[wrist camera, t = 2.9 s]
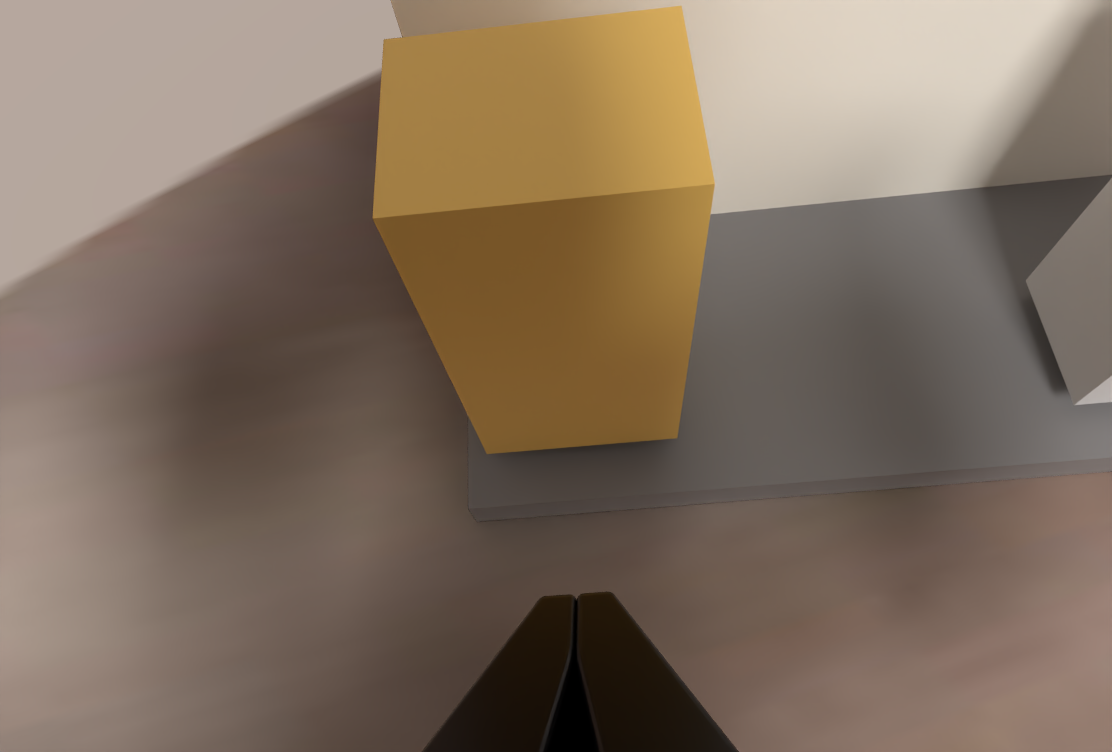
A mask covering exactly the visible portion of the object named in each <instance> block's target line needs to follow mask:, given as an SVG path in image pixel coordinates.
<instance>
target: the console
mask: <svg viewBox="0 0 1112 752" xmlns="http://www.w3.org/2000/svg"><path fill="white" fill-rule="evenodd" d="M391 3H392V6H393V9H394V12H395V16H396V19H397V22H398V25H399V28H400V31H401V34H402V37H410V36H419V35H428V34H437V33H446V32H454V31H463V30H472V29H481V28H489V27H498V26H507V25H516V24H525V23H533V22H542V21H551V20H560V19H569V18H577V17H586V16H595V15H604V14H613V13H621V12H630V11H639V10H648V9H656V8H665V7H674V6H682V11H683V16H684V21H685V27H686V32H687V37H688V43H689V48H690V53H691V59H692V64H693V69H694V75H695V80H696V85H697V91H698V96H699V101H700V107H701V112H702V117H703V123H704V128H705V133H706V139H707V144H708V149H709V155H710V160H711V165H712V171H713V176H714V181H715V187H714V194H713V201H712V208H711V214H710V221H709V228H708V235H707V241H706V248H705V255H704V261H703V268H702V275H701V282H700V288H699V295H698V302H697V309H696V315H695V322H694V329H693V336H692V342H691V349H690V356H689V363H688V369H687V376H686V383H685V389H684V396H683V403H682V410H681V416H680V423H679V430H678V437H677V438H675V439H663V440H651V441H639V442H627V443H615V444H603V445H591V446H579V447H567V448H555V449H543V450H531V451H519V452H507V453H495V454H487V453H486V451H485V449H484V447H483V445H482V443H481V441H480V439H479V437H478V435H477V433H476V431H475V429H474V427H473V425H472V423H471V420H470V418H469V416H468V509H469V511H470V512H471V514H472V515H473V517H474V518H475V520H476V521H490V520H502V519H515V518H528V517H540V516H553V515H566V514H578V513H591V512H604V511H616V510H629V509H642V508H654V507H667V506H680V505H693V504H705V503H718V502H731V501H743V500H756V499H769V498H781V497H794V496H807V495H819V494H832V493H845V492H858V491H870V490H883V489H896V488H908V487H921V486H934V485H946V484H959V483H972V482H984V481H997V480H1010V479H1023V478H1035V477H1048V476H1061V475H1073V474H1086V473H1099V472H1111V471H1112V402H1106V403H1094V404H1082V405H1074V404H1073V402H1072V399H1071V396H1070V394H1069V391H1068V389H1067V386H1066V384H1065V381H1064V378H1063V376H1062V373H1061V371H1060V368H1059V366H1058V363H1057V360H1056V358H1055V355H1054V353H1053V350H1052V347H1051V345H1050V342H1049V340H1048V337H1047V335H1046V332H1045V329H1044V327H1043V324H1042V322H1041V319H1040V317H1039V314H1038V311H1037V309H1036V306H1035V304H1034V301H1033V299H1032V296H1031V293H1030V291H1029V288H1028V286H1027V283H1026V279H1027V278H1028V277H1029V276H1030V275H1031V274H1032V272H1033V271H1034V270H1035V269H1036V268H1037V266H1038V265H1039V264H1040V263H1041V262H1042V260H1043V259H1044V258H1045V257H1046V256H1047V254H1048V253H1049V252H1050V251H1051V250H1052V248H1053V247H1054V246H1055V245H1056V244H1057V243H1058V241H1059V240H1060V239H1061V238H1062V237H1063V235H1064V234H1065V233H1066V232H1067V231H1068V229H1069V228H1070V227H1071V226H1072V225H1073V223H1074V222H1075V221H1076V220H1077V219H1078V218H1079V216H1080V215H1081V214H1082V213H1083V212H1084V210H1085V209H1086V208H1087V207H1088V206H1089V204H1090V203H1091V202H1092V201H1093V200H1094V198H1095V197H1096V196H1097V195H1098V194H1099V192H1100V191H1101V190H1102V189H1103V188H1104V187H1105V185H1106V184H1107V183H1108V182H1109V181H1110V179H1111V178H1112V0H391Z"/></svg>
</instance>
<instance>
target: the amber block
mask: <svg viewBox="0 0 1112 752" xmlns="http://www.w3.org/2000/svg"><path fill="white" fill-rule="evenodd" d="M714 187H715V181H714V176H713V171H712V165H711V160H710V155H709V149H708V144H707V139H706V133H705V128H704V123H703V117H702V112H701V107H700V101H699V96H698V91H697V85H696V80H695V75H694V69H693V64H692V59H691V53H690V48H689V43H688V37H687V32H686V27H685V21H684V16H683V11H682V6H674V7H665V8H656V9H648V10H639V11H630V12H621V13H613V14H604V15H595V16H586V17H577V18H569V19H560V20H551V21H542V22H533V23H525V24H516V25H507V26H498V27H489V28H481V29H472V30H463V31H454V32H446V33H437V34H428V35H419V36H410V37H402V38H393V39H384V44H383V60H382V76H381V92H380V108H379V124H378V140H377V155H376V171H375V187H374V203H373V221H374V223H375V225H376V227H377V229H378V231H379V233H380V235H381V237H382V239H383V241H384V243H385V245H386V247H387V249H388V251H389V254H390V256H391V258H392V260H393V262H394V264H395V266H396V268H397V270H398V272H399V274H400V276H401V278H402V280H403V282H404V284H405V286H406V289H407V291H408V293H409V295H410V297H411V299H412V301H413V303H414V305H415V307H416V309H417V311H418V313H419V315H420V317H421V319H422V322H423V324H424V326H425V328H426V330H427V332H428V334H429V336H430V338H431V340H432V342H433V344H434V346H435V348H436V350H437V352H438V354H439V357H440V359H441V361H442V363H443V365H444V367H445V369H446V371H447V373H448V375H449V377H450V379H451V381H452V383H453V385H454V387H455V390H456V392H457V394H458V396H459V398H460V400H461V402H462V404H463V406H464V408H465V410H466V412H467V414H468V416H469V418H470V420H471V423H472V425H473V427H474V429H475V431H476V433H477V435H478V437H479V439H480V441H481V443H482V445H483V447H484V449H485V451H486V453H487V454H495V453H507V452H519V451H531V450H543V449H555V448H567V447H579V446H591V445H603V444H615V443H627V442H639V441H651V440H663V439H675V438H677V437H678V430H679V423H680V416H681V410H682V403H683V396H684V389H685V383H686V376H687V369H688V363H689V356H690V349H691V342H692V336H693V329H694V322H695V315H696V309H697V302H698V295H699V288H700V282H701V275H702V268H703V261H704V255H705V248H706V241H707V235H708V228H709V221H710V214H711V208H712V201H713V194H714Z"/></svg>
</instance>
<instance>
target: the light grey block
mask: <svg viewBox="0 0 1112 752" xmlns="http://www.w3.org/2000/svg"><path fill="white" fill-rule="evenodd" d="M1026 283H1027V286H1028V288H1029V291H1030V293H1031V296H1032V299H1033V301H1034V304H1035V306H1036V309H1037V311H1038V314H1039V317H1040V319H1041V322H1042V324H1043V327H1044V329H1045V332H1046V335H1047V337H1048V340H1049V342H1050V345H1051V347H1052V350H1053V353H1054V355H1055V358H1056V360H1057V363H1058V366H1059V368H1060V371H1061V373H1062V376H1063V378H1064V381H1065V384H1066V386H1067V389H1068V391H1069V394H1070V396H1071V399H1072V402H1073V404H1074V405H1082V404H1094V403H1106V402H1112V178H1111V179H1110V181H1109V182H1108V183H1107V184H1106V185H1105V187H1104V188H1103V189H1102V190H1101V191H1100V192H1099V194H1098V195H1097V196H1096V197H1095V198H1094V200H1093V201H1092V202H1091V203H1090V204H1089V206H1088V207H1087V208H1086V209H1085V210H1084V212H1083V213H1082V214H1081V215H1080V216H1079V218H1078V219H1077V220H1076V221H1075V222H1074V223H1073V225H1072V226H1071V227H1070V228H1069V229H1068V231H1067V232H1066V233H1065V234H1064V235H1063V237H1062V238H1061V239H1060V240H1059V241H1058V243H1057V244H1056V245H1055V246H1054V247H1053V248H1052V250H1051V251H1050V252H1049V253H1048V254H1047V256H1046V257H1045V258H1044V259H1043V260H1042V262H1041V263H1040V264H1039V265H1038V266H1037V268H1036V269H1035V270H1034V271H1033V272H1032V274H1031V275H1030V276H1029V277H1028V278H1027V279H1026Z"/></svg>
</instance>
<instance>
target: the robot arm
mask: <svg viewBox="0 0 1112 752" xmlns="http://www.w3.org/2000/svg"><path fill="white" fill-rule="evenodd" d="M422 752H739V751H738V750H737V749H736V748H735V746H734V745H733V744H732V743H731V741H730V740H729V739H728V738H727V736H726V735H725V734H724V733H723V731H722V730H721V729H720V727H719V726H718V725H717V724H716V722H715V721H714V720H713V719H712V717H711V716H710V715H709V714H708V712H707V711H706V710H705V709H704V707H703V706H702V705H701V704H700V702H699V701H698V700H697V698H696V697H695V696H694V695H693V693H692V692H691V691H690V690H689V688H688V687H687V686H686V685H685V683H684V682H683V681H682V680H681V678H680V677H679V676H678V675H677V673H676V672H675V671H674V669H673V668H672V667H671V666H670V664H669V663H668V662H667V661H666V659H665V658H664V657H663V656H662V654H661V653H660V652H659V651H658V649H657V648H656V647H655V646H654V644H653V643H652V642H651V640H650V639H649V638H648V637H647V635H646V634H645V633H644V632H643V630H642V629H641V628H640V627H639V625H638V624H637V623H636V622H635V620H634V619H633V618H632V617H631V615H630V614H629V613H628V611H627V610H626V609H625V608H624V606H623V605H622V604H621V603H620V601H619V600H618V599H617V598H616V596H615V595H614V594H613V593H611V592H597V593H584V594H581V595H579V596H578V598H577V600H576V598H575V596H573V595H556V596H544V597H542V598H540V599H539V600H538V602H537V603H536V604H535V605H534V607H533V608H532V609H531V611H530V612H529V613H528V615H527V616H526V617H525V618H524V620H523V621H522V622H521V624H520V625H519V626H518V628H517V629H516V630H515V631H514V633H513V634H512V635H511V637H510V638H509V639H508V640H507V642H506V643H505V644H504V646H503V647H502V648H501V650H500V651H499V652H498V653H497V655H496V656H495V657H494V659H493V660H492V661H491V663H490V664H489V665H488V666H487V668H486V669H485V670H484V672H483V673H482V674H481V676H480V677H479V678H478V679H477V681H476V682H475V683H474V685H473V686H472V687H471V689H470V690H469V691H468V692H467V694H466V695H465V696H464V698H463V699H462V700H461V702H460V703H459V704H458V705H457V707H456V708H455V709H454V711H453V712H452V713H451V715H450V716H449V717H448V718H447V720H446V721H445V722H444V724H443V725H442V726H441V728H440V729H439V730H438V731H437V733H436V734H435V735H434V737H433V738H432V739H431V741H430V742H429V743H428V744H427V746H426V747H425V748H424V750H423V751H422Z"/></svg>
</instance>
